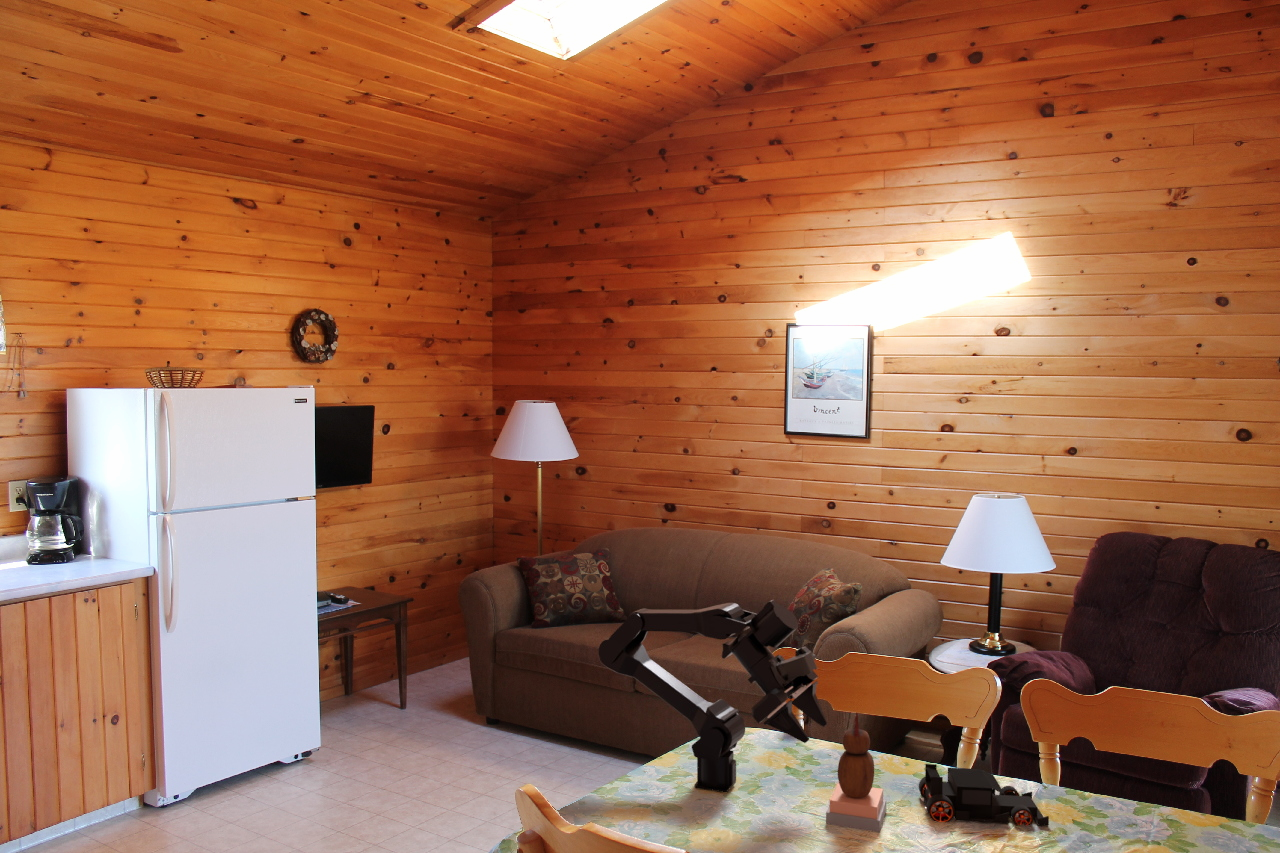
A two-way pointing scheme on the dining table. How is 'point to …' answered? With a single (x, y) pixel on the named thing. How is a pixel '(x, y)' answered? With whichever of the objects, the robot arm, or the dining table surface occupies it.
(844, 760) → the wooden figurine
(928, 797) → the black toy car
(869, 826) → the brick plinth
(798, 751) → the dining table surface
